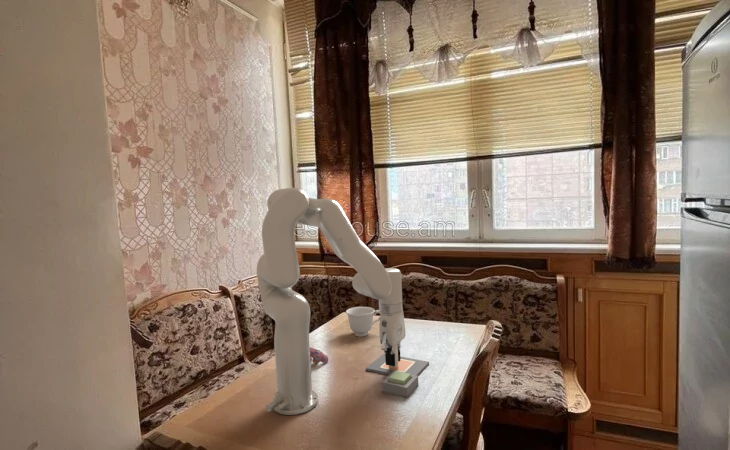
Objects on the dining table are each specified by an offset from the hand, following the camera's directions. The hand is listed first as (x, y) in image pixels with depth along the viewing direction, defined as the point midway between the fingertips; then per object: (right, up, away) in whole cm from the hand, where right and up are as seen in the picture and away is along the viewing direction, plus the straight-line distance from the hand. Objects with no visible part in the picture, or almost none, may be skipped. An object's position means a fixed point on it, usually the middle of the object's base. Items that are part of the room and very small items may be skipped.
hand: (393, 362), depth 127 cm
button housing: (+1, -4, -12) cm, 12 cm away
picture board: (+2, -3, +3) cm, 5 cm away
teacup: (-9, -1, +36) cm, 37 cm away
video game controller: (-27, -4, +10) cm, 29 cm away
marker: (0, -2, 0) cm, 2 cm away
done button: (+1, -2, -12) cm, 12 cm away
